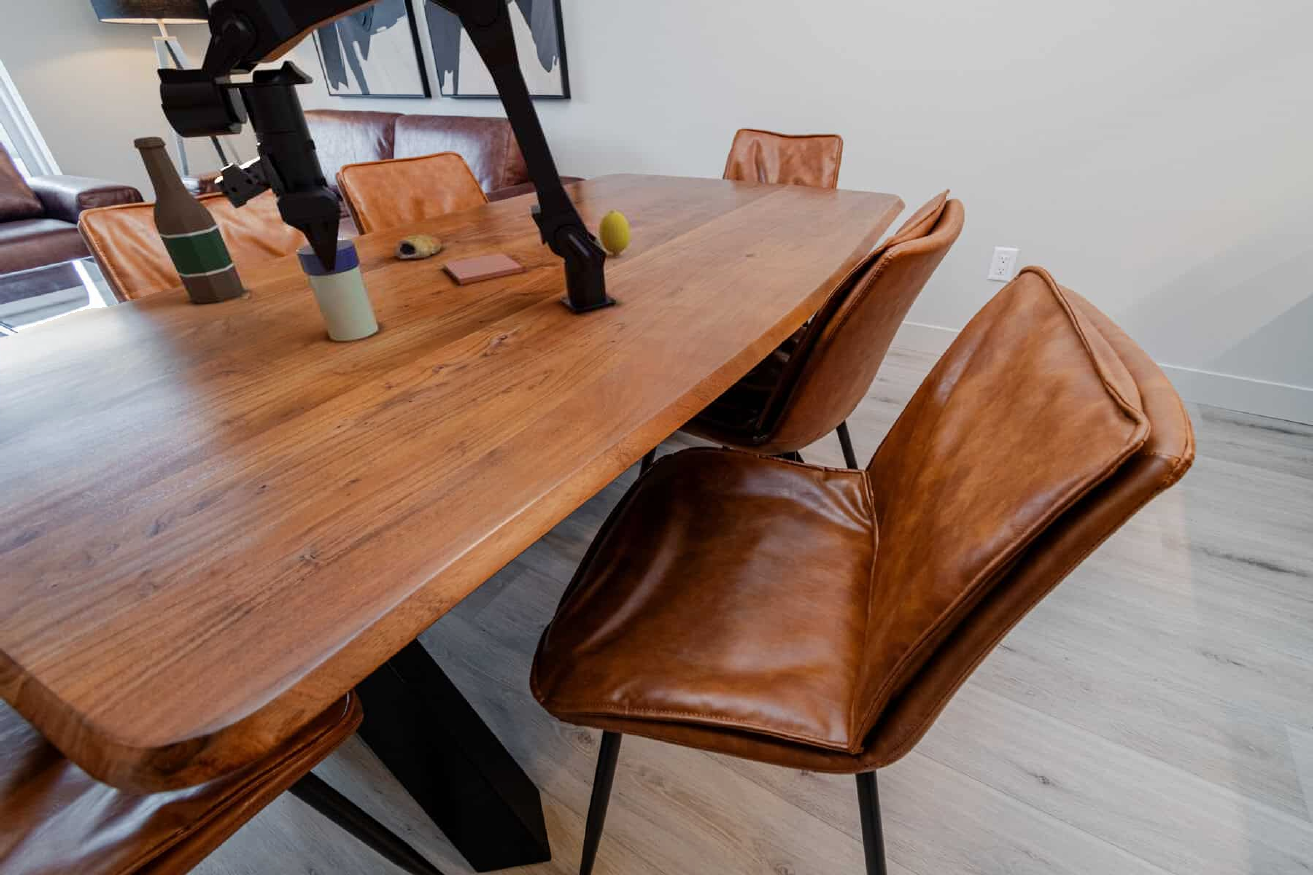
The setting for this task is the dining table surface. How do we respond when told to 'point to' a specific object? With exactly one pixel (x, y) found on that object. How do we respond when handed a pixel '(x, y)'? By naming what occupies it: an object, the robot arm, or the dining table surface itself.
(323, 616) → the dining table surface
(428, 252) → the pastry
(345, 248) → the jar lid
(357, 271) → the jar
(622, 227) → the lemon
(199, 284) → the beer bottle
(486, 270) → the coaster
